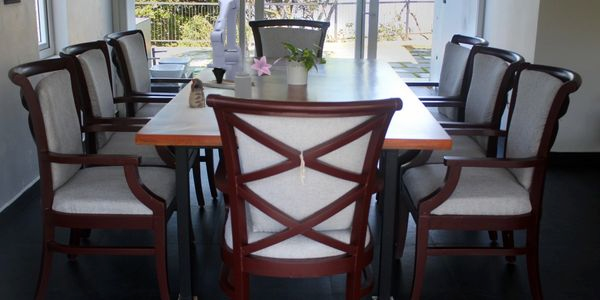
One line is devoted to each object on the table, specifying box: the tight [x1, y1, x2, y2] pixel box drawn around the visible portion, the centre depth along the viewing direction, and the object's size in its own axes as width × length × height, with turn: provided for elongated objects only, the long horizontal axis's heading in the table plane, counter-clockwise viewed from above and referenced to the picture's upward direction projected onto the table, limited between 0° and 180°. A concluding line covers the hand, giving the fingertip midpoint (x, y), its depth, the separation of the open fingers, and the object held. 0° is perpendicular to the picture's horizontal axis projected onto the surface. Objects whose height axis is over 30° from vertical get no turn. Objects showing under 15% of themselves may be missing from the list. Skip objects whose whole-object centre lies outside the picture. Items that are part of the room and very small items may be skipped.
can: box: [234, 71, 253, 99], centre depth 309 cm, size 8×8×12 cm
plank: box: [202, 80, 235, 90], centre depth 345 cm, size 7×22×2 cm, turn 55°
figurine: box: [188, 77, 207, 108], centre depth 296 cm, size 7×7×12 cm
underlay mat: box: [203, 84, 256, 91], centre depth 348 cm, size 15×23×1 cm, turn 55°
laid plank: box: [211, 78, 255, 87], centre depth 351 cm, size 6×22×2 cm, turn 55°
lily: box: [249, 55, 273, 77], centre depth 384 cm, size 12×12×10 cm
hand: (219, 83), depth 345 cm, fingers closed, pressing on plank
